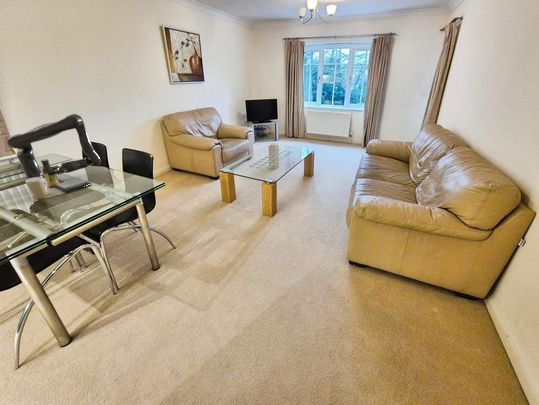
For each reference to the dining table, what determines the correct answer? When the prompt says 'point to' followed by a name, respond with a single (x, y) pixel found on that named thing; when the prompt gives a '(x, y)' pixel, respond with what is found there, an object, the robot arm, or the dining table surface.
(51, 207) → the dining table surface
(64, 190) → the kitchen scale
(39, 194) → the coffee cup
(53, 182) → the sauce bottle
